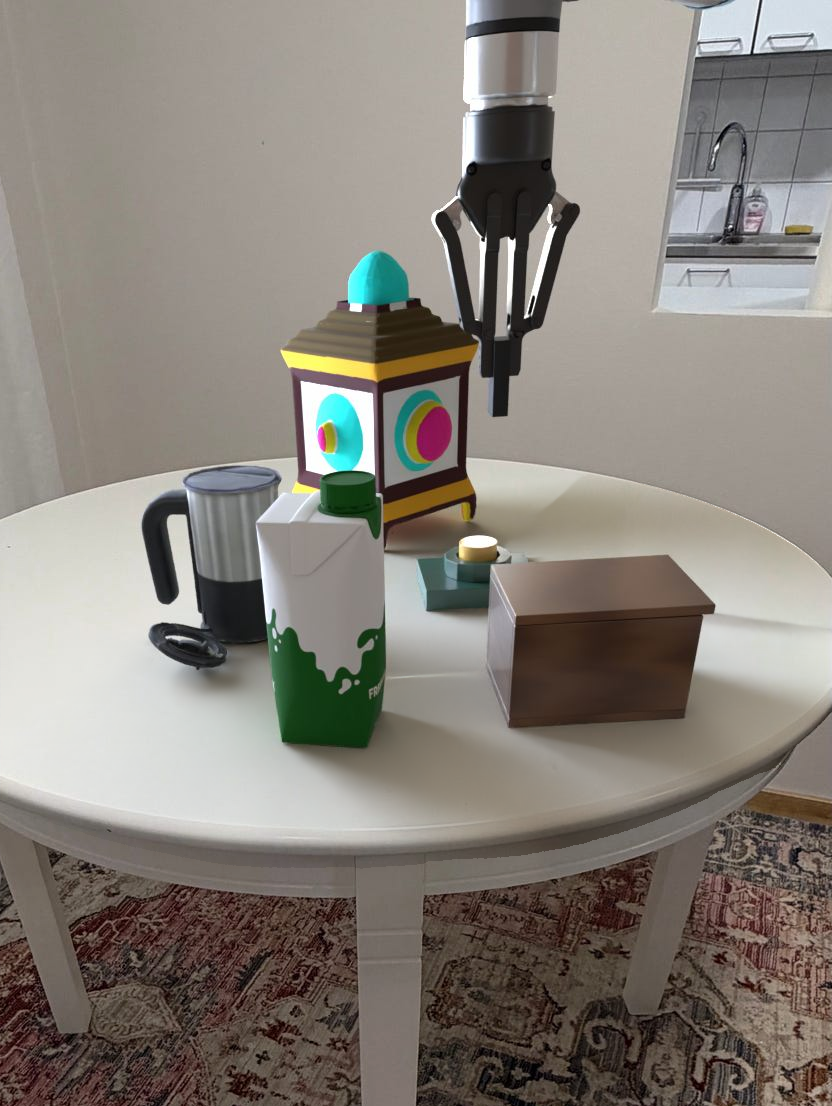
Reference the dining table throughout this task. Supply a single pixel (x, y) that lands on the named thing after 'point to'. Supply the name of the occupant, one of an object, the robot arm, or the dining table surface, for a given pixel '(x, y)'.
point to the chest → (590, 667)
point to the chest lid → (598, 590)
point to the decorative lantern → (384, 396)
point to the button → (478, 548)
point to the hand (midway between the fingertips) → (497, 413)
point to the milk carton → (326, 609)
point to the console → (459, 580)
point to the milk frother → (212, 559)
